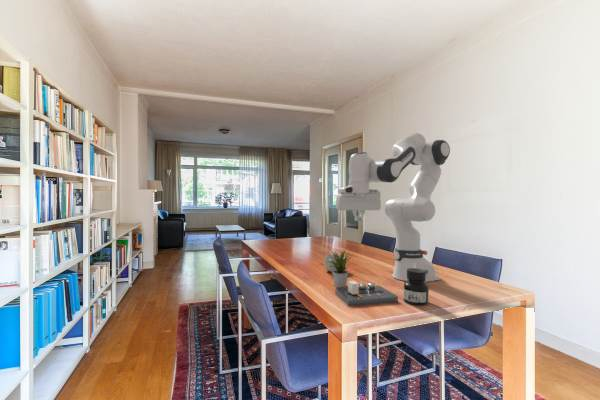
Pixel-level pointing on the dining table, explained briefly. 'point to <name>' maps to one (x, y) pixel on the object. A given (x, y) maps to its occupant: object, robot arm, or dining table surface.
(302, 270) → the dining table surface
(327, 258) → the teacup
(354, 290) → the fader cap
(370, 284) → the console
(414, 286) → the ink bottle
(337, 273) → the house plant
